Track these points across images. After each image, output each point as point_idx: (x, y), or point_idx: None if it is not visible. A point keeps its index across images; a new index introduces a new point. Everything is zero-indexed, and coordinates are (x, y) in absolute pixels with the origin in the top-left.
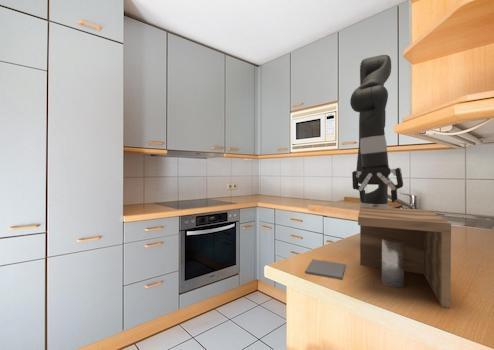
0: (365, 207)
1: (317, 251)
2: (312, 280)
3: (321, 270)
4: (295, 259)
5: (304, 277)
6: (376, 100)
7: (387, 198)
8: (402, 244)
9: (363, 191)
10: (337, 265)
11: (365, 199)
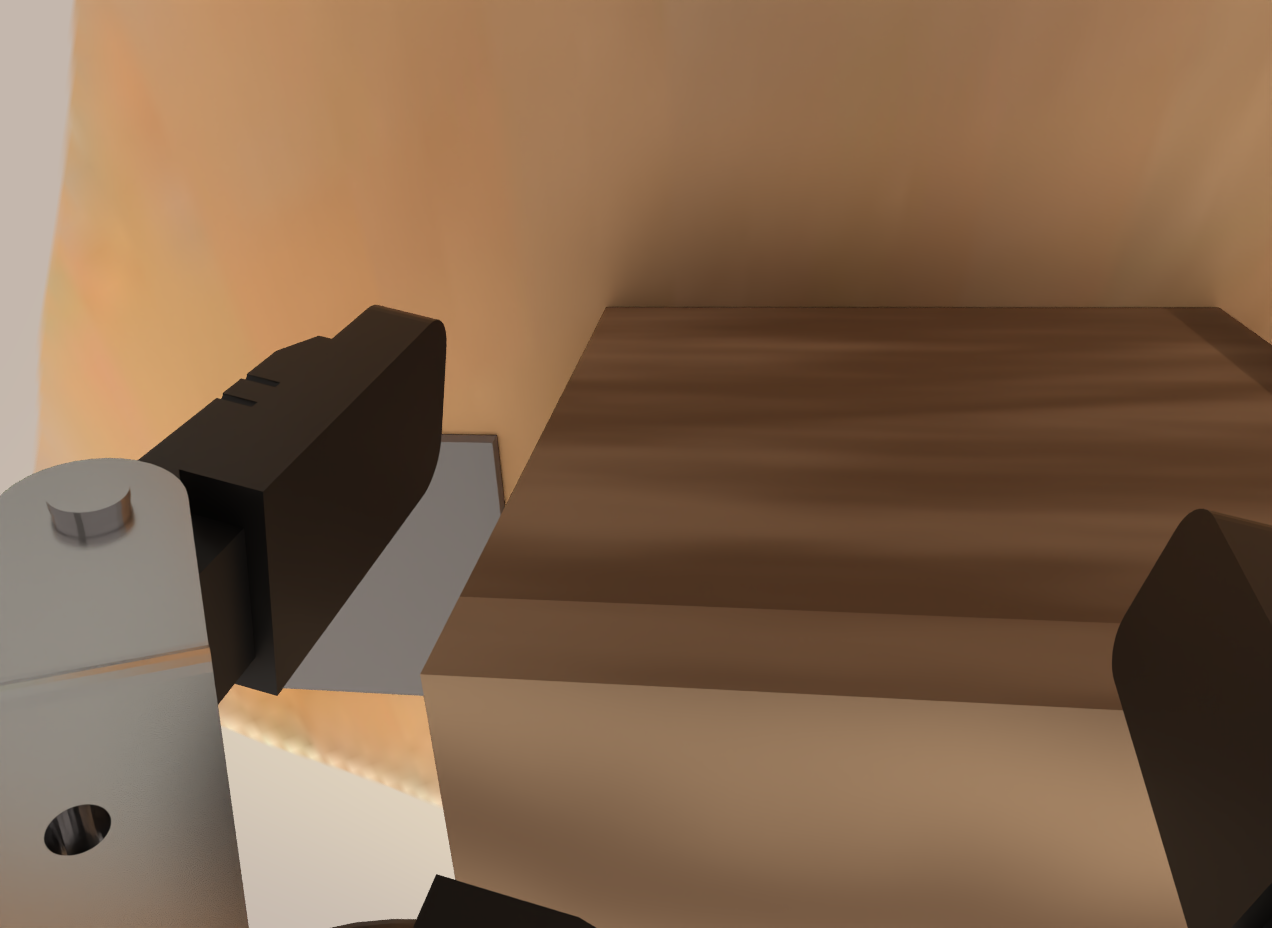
0: (527, 793)
1: (127, 100)
2: (369, 755)
3: (367, 642)
4: (89, 448)
5: (311, 733)
6: None
7: None
8: None
9: (279, 686)
10: (440, 505)
11: (419, 390)
